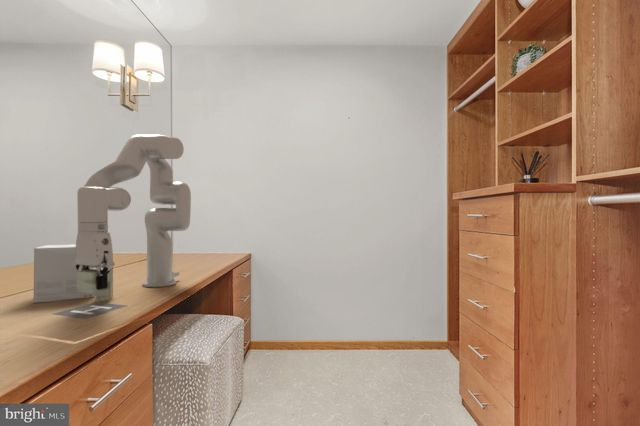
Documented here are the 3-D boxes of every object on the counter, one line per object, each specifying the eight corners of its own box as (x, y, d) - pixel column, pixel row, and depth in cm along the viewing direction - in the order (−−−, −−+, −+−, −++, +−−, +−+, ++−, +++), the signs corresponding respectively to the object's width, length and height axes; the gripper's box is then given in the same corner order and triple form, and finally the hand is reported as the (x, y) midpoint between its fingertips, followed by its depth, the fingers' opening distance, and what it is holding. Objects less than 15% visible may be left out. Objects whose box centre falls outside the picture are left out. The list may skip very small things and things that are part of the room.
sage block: (95, 287, 107) (95, 267, 107) (110, 288, 105) (109, 269, 105) (76, 291, 102) (76, 271, 101) (91, 293, 100) (91, 272, 100)
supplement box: (101, 290, 130) (102, 243, 130) (95, 298, 118) (95, 246, 118) (44, 294, 123) (45, 244, 123) (32, 303, 111) (32, 247, 111)
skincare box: (110, 302, 114) (111, 265, 114) (94, 303, 112) (95, 266, 112) (113, 297, 119) (113, 262, 119) (98, 298, 118) (98, 263, 118)
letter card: (96, 303, 111) (96, 302, 111) (128, 307, 107) (128, 305, 107) (51, 315, 98) (51, 313, 98) (85, 320, 94) (85, 318, 94)
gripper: (126, 228, 104) (126, 287, 104) (83, 226, 109) (84, 282, 110) (103, 229, 97) (104, 293, 97) (59, 228, 102) (60, 288, 103)
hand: (93, 287), depth 103 cm, fingers closed on sage block, 6 cm apart
